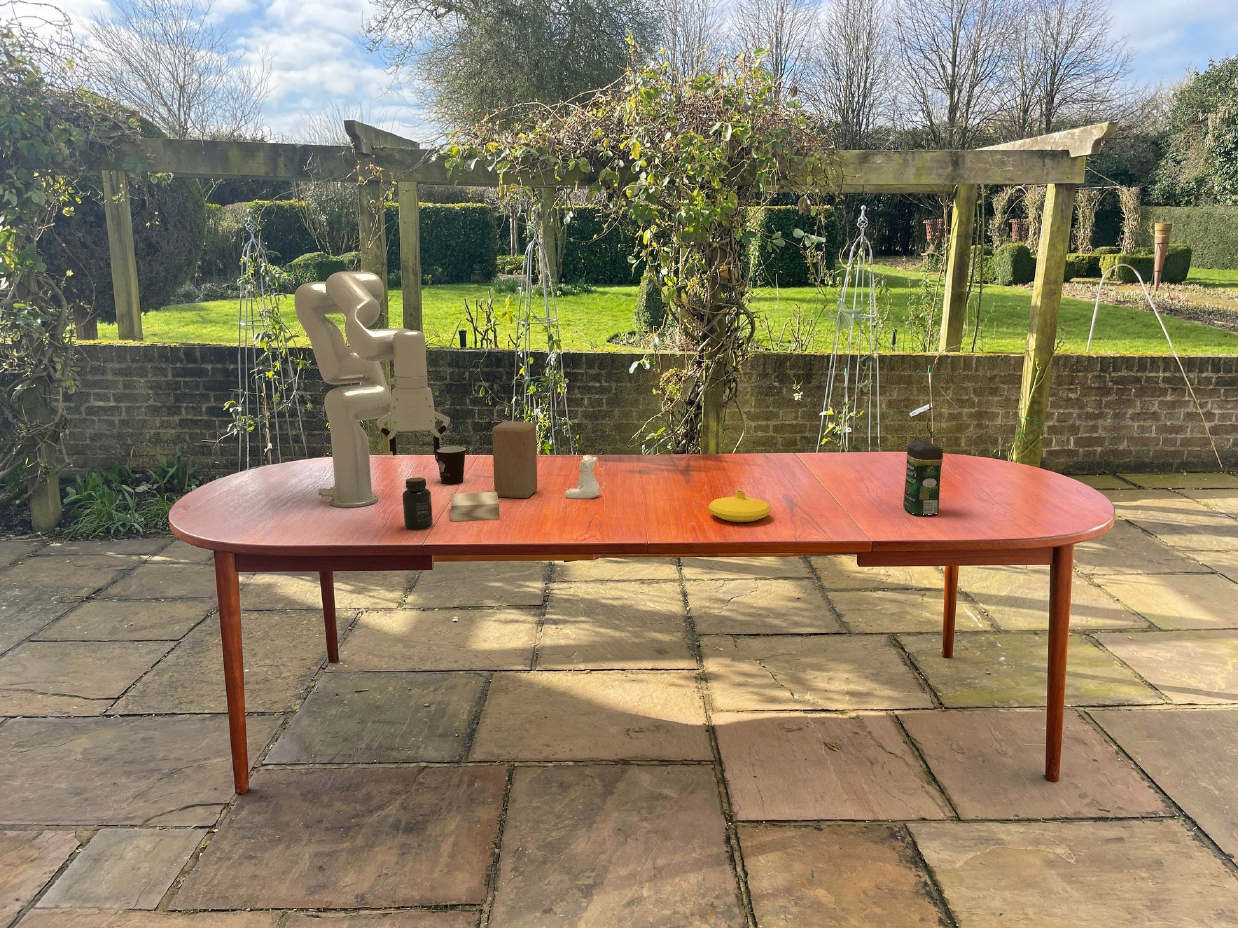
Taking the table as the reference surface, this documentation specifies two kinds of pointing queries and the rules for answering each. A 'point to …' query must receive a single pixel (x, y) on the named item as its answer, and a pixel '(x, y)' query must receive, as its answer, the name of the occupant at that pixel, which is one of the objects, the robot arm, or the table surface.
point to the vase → (739, 508)
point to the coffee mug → (451, 464)
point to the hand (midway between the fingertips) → (415, 453)
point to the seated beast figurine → (585, 481)
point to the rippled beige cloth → (474, 506)
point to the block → (515, 459)
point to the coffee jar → (923, 478)
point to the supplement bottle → (417, 504)
